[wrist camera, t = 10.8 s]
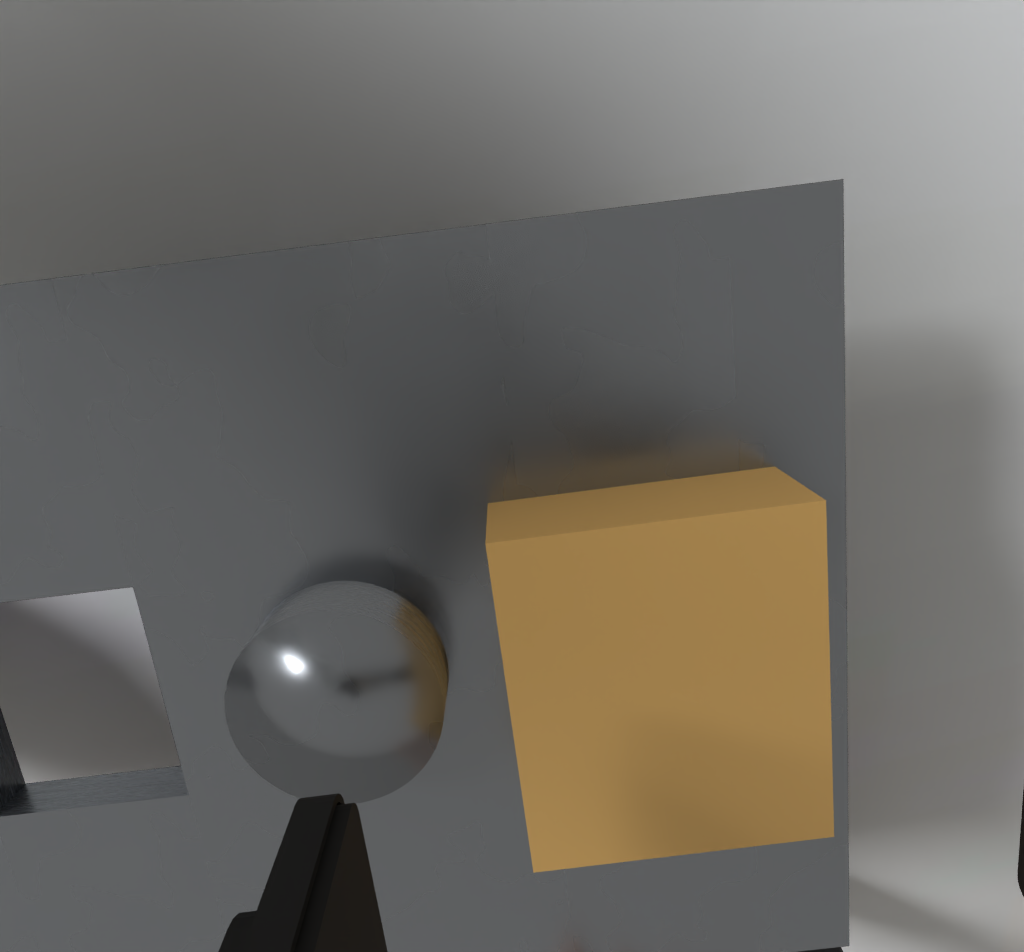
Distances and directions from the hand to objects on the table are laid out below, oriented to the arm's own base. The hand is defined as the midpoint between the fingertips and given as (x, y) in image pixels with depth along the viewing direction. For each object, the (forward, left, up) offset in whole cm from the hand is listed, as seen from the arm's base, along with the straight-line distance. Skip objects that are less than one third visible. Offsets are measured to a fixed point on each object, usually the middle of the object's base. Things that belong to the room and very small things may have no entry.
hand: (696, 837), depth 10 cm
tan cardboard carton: (0, 0, -12) cm, 12 cm away
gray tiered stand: (0, -6, -15) cm, 16 cm away
